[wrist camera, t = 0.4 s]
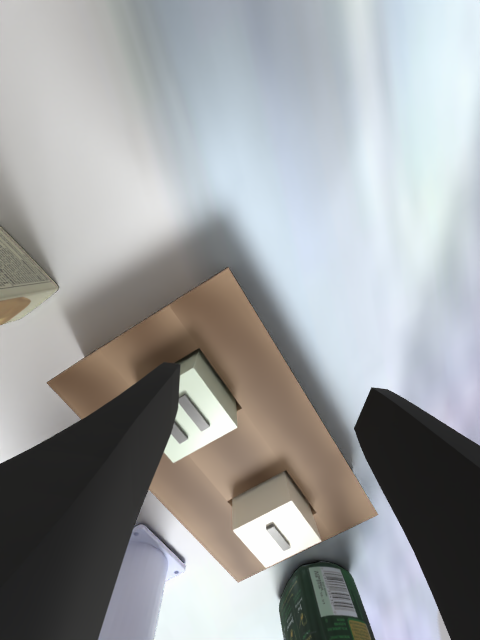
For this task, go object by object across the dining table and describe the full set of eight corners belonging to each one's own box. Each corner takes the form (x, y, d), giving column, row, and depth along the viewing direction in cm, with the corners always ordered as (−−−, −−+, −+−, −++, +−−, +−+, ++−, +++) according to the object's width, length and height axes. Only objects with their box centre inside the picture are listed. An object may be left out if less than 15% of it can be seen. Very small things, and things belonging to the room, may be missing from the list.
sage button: (183, 426, 18) (172, 465, 14) (145, 379, 16) (123, 410, 13) (235, 396, 17) (237, 429, 14) (200, 346, 16) (192, 369, 13)
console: (236, 531, 24) (238, 582, 20) (84, 357, 19) (46, 382, 15) (353, 472, 23) (378, 514, 19) (228, 266, 17) (228, 268, 13)
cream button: (260, 520, 20) (266, 571, 17) (232, 486, 19) (232, 533, 16) (306, 496, 20) (322, 544, 17) (280, 460, 19) (292, 503, 15)
